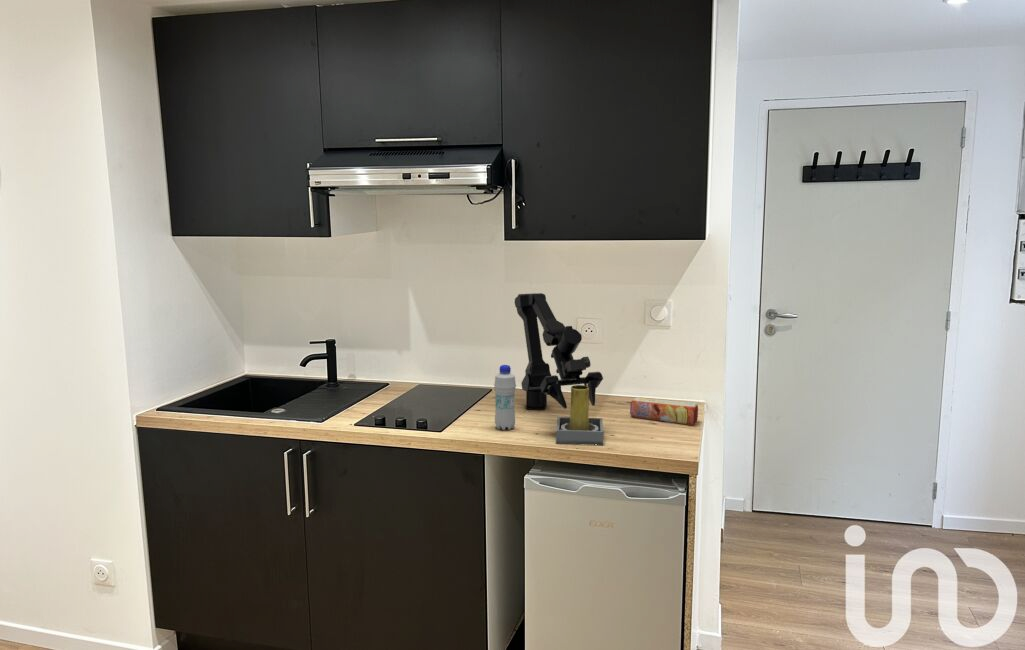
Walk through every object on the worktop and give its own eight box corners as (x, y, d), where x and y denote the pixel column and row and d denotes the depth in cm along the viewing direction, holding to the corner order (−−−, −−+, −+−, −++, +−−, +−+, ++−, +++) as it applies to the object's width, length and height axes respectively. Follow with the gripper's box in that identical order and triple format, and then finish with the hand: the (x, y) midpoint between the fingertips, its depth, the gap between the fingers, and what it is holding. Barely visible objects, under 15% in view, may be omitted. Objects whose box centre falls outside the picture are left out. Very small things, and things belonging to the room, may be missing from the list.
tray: (555, 443, 219) (556, 430, 218) (557, 429, 232) (557, 416, 231) (603, 445, 217) (603, 432, 217) (601, 430, 231) (602, 418, 230)
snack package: (628, 418, 244) (629, 398, 243) (635, 413, 250) (635, 393, 249) (694, 427, 235) (695, 406, 234) (699, 422, 241) (700, 401, 239)
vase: (586, 437, 221) (587, 390, 218) (566, 435, 223) (566, 388, 221) (591, 431, 226) (592, 385, 224) (572, 429, 229) (573, 383, 226)
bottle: (513, 431, 229) (514, 367, 226) (492, 430, 230) (492, 366, 227) (517, 425, 236) (517, 362, 232) (496, 424, 237) (496, 362, 233)
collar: (560, 439, 220) (560, 432, 219) (561, 427, 230) (561, 421, 230) (598, 440, 219) (598, 433, 218) (597, 428, 229) (597, 422, 229)
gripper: (544, 349, 222) (559, 395, 214) (601, 345, 228) (617, 389, 220) (534, 370, 230) (548, 414, 222) (588, 365, 237) (604, 408, 229)
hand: (580, 406), depth 223 cm, fingers open, 9 cm apart
